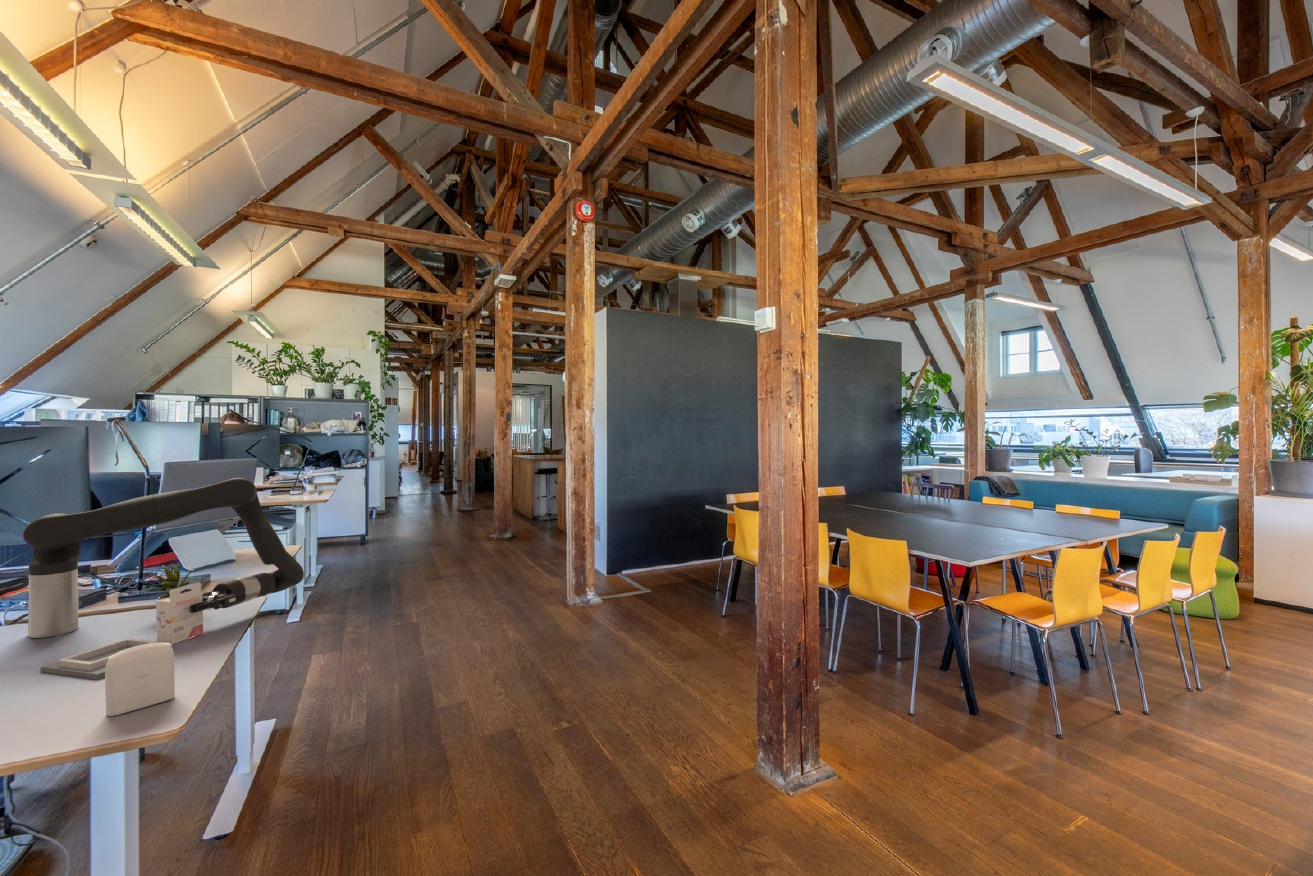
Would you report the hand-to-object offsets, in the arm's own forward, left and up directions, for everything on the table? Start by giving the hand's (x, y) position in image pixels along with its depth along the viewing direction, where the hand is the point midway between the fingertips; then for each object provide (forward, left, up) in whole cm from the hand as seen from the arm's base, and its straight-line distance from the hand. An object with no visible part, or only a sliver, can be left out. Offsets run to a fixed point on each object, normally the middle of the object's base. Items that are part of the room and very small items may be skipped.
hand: (178, 608), depth 146 cm
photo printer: (+32, -30, -9) cm, 44 cm away
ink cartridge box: (0, 0, -9) cm, 9 cm away
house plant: (-24, +14, -9) cm, 29 cm away
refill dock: (-1, -15, -8) cm, 17 cm away
